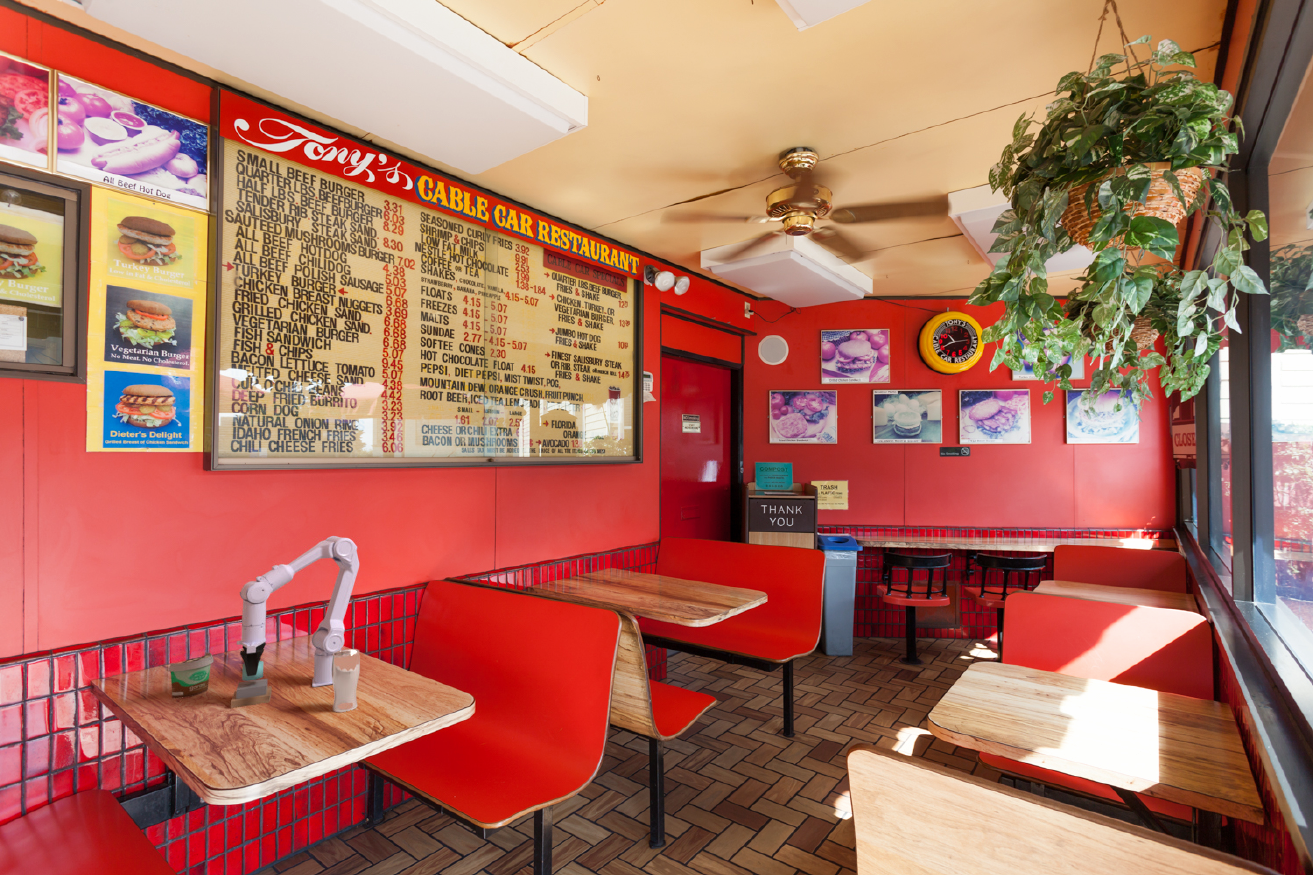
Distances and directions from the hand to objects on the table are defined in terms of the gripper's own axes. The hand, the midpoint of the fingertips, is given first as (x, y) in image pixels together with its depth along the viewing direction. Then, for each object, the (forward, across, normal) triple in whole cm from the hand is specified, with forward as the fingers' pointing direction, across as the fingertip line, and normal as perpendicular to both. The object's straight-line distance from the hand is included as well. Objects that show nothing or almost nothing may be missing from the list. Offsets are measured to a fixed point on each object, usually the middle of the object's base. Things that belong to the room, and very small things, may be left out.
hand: (252, 672), depth 179 cm
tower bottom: (+8, 0, 0) cm, 8 cm away
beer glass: (+8, +20, +23) cm, 31 cm away
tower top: (+6, 0, 0) cm, 6 cm away
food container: (+8, -15, -15) cm, 23 cm away
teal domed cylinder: (+1, 0, 0) cm, 1 cm away
